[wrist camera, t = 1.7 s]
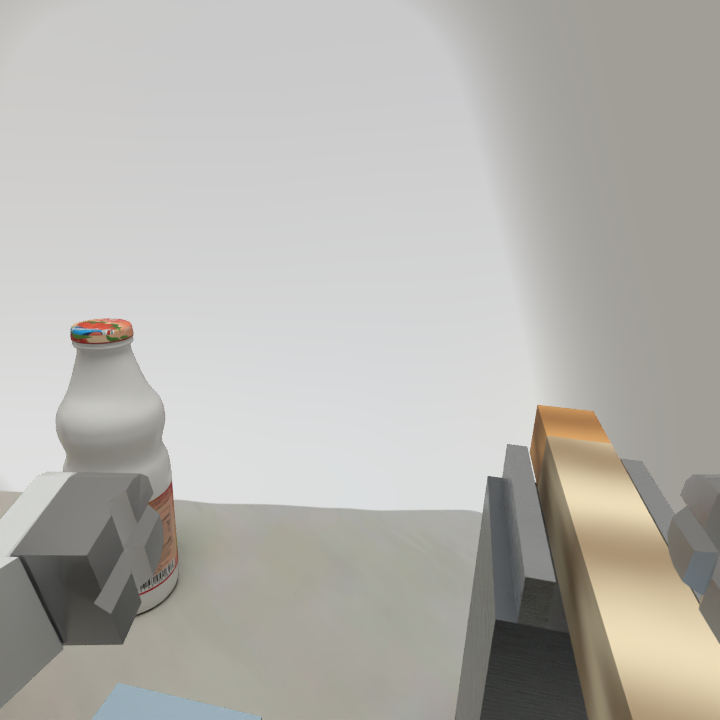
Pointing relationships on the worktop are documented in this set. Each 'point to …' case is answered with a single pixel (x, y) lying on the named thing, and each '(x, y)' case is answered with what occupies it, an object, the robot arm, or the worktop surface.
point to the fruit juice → (119, 430)
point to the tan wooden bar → (619, 582)
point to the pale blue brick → (160, 707)
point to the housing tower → (526, 604)
